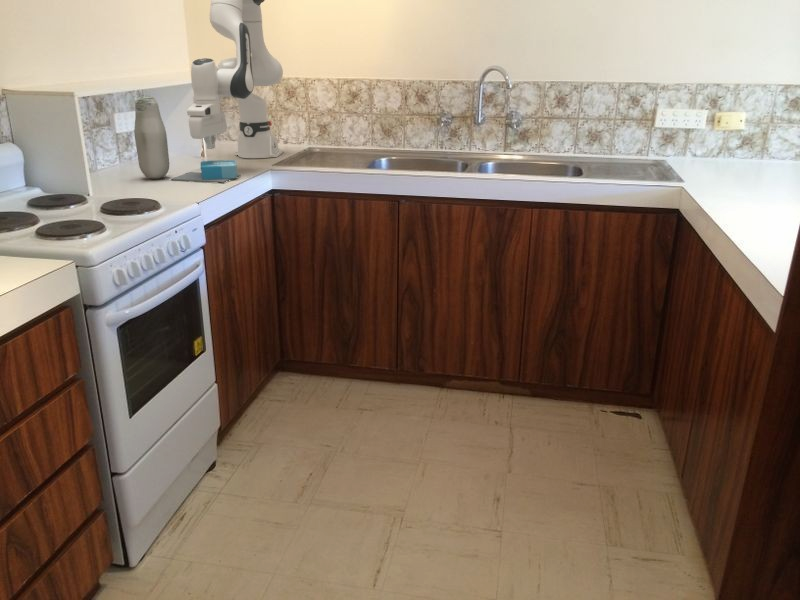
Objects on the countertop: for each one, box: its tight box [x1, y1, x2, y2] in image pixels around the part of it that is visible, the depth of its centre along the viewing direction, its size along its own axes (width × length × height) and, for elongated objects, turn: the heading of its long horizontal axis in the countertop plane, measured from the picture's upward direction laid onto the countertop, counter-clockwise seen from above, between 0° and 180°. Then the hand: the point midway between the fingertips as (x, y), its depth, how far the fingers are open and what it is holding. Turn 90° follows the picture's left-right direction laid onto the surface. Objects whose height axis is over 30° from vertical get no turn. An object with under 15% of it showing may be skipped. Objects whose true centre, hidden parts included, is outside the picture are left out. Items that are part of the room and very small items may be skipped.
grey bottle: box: [133, 95, 170, 180], centre depth 232 cm, size 10×10×28 cm
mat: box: [170, 171, 241, 184], centre depth 238 cm, size 13×20×1 cm, turn 77°
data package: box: [200, 159, 238, 180], centre depth 238 cm, size 12×4×12 cm
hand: (211, 148), depth 239 cm, fingers closed
